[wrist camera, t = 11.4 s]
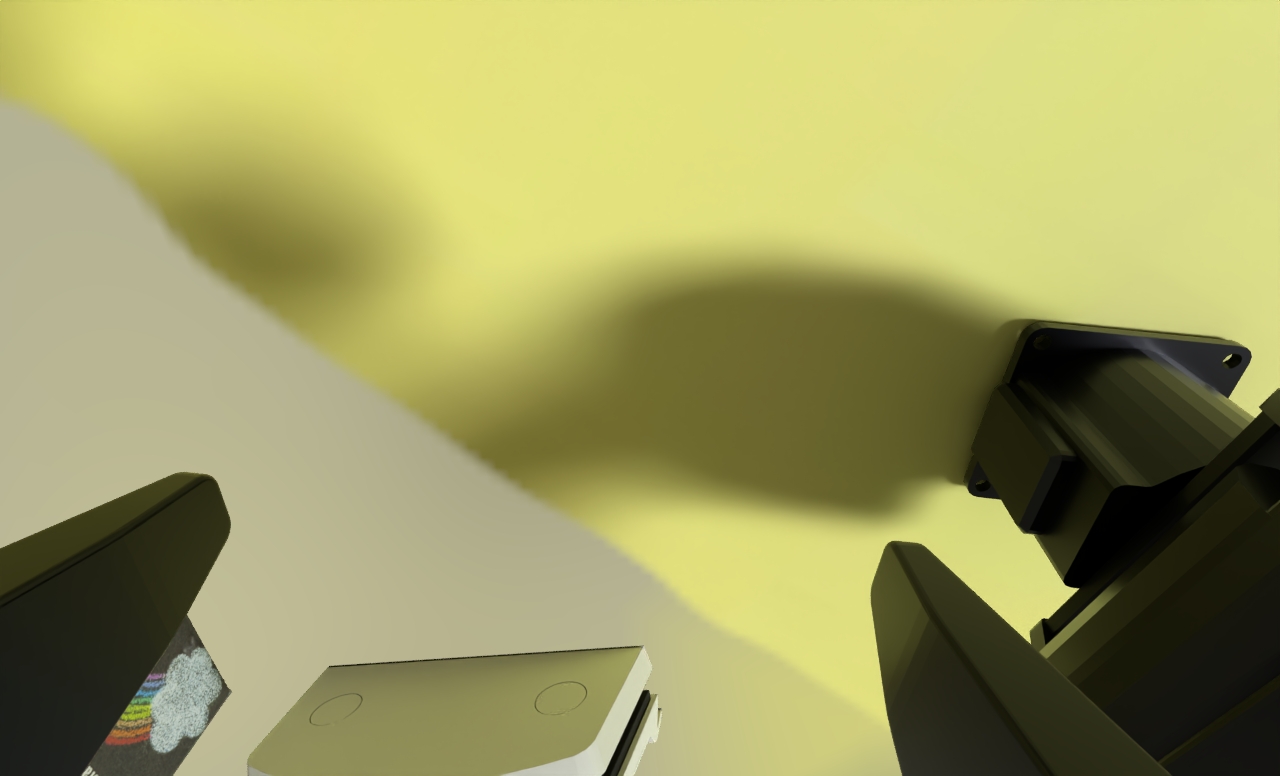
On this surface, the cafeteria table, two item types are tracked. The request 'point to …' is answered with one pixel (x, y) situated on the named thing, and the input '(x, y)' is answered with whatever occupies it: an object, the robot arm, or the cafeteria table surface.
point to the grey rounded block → (471, 718)
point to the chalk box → (165, 712)
